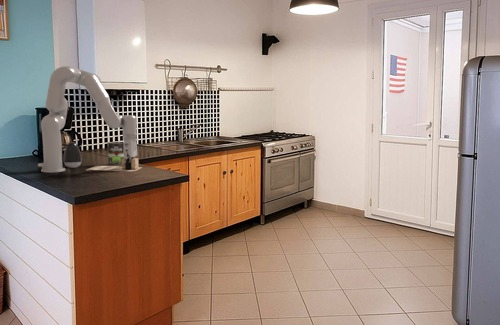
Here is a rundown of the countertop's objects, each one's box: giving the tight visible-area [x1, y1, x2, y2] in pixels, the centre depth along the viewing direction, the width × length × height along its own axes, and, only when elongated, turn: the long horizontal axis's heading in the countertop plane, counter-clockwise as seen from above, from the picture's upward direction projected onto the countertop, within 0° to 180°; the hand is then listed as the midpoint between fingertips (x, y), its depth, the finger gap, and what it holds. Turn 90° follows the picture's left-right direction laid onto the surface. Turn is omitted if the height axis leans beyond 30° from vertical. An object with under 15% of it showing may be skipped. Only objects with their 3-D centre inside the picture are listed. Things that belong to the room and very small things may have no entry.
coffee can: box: [107, 141, 124, 166], centre depth 277 cm, size 10×10×14 cm
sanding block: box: [121, 157, 140, 171], centre depth 258 cm, size 8×5×6 cm, turn 84°
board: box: [85, 165, 144, 172], centre depth 259 cm, size 28×15×1 cm, turn 84°
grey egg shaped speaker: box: [62, 141, 83, 169], centre depth 267 cm, size 10×10×15 cm
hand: (130, 168), depth 258 cm, fingers closed on sanding block, 5 cm apart
